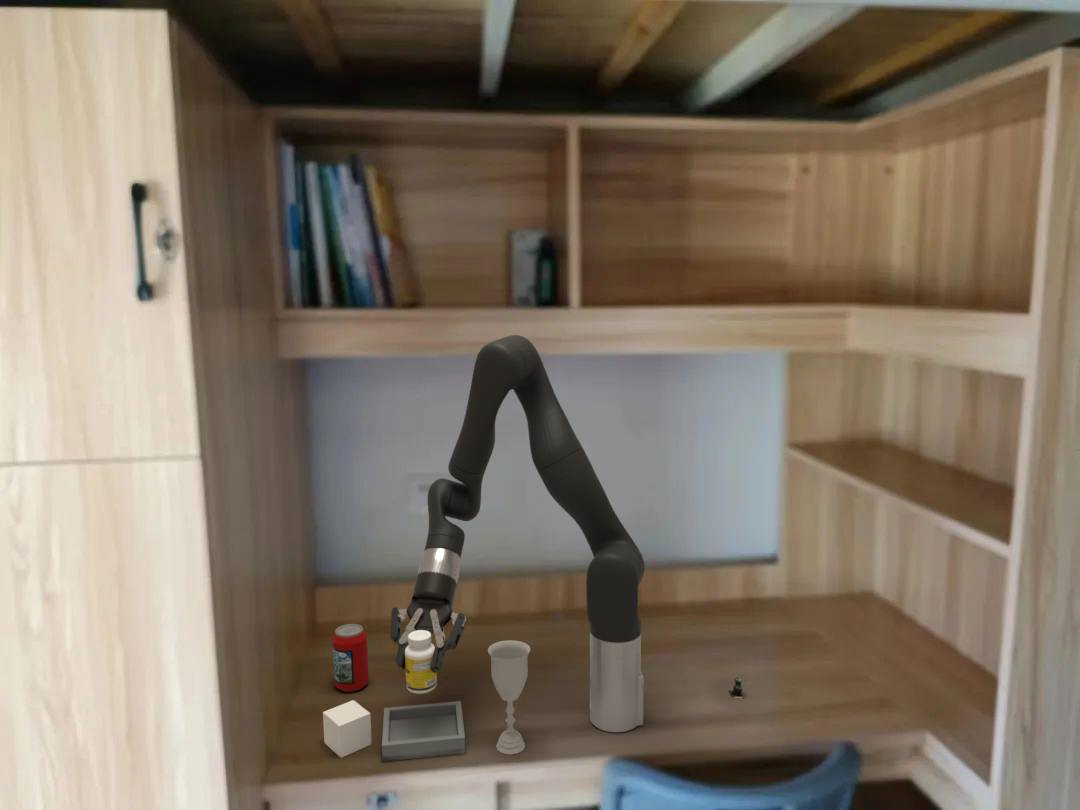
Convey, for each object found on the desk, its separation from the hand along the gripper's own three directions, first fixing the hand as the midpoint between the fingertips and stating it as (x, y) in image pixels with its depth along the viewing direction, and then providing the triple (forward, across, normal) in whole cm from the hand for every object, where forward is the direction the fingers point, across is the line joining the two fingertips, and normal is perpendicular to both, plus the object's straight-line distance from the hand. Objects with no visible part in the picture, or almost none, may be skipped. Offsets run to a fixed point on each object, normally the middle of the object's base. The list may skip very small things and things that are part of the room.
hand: (417, 669), depth 138 cm
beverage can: (-2, -20, +22) cm, 30 cm away
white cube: (+12, -12, +8) cm, 19 cm away
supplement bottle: (+2, 0, +4) cm, 5 cm away
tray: (+9, 0, +11) cm, 14 cm away
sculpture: (-9, +56, +29) cm, 64 cm away
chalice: (+8, +16, +11) cm, 21 cm away
